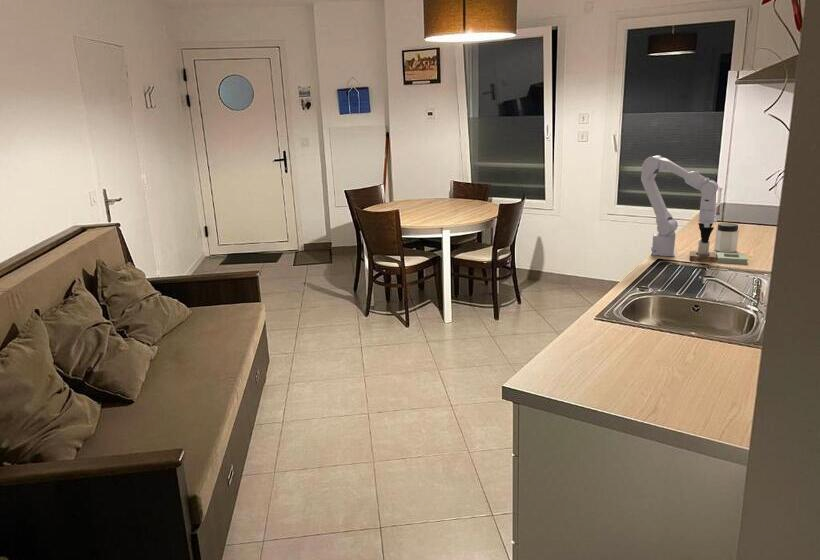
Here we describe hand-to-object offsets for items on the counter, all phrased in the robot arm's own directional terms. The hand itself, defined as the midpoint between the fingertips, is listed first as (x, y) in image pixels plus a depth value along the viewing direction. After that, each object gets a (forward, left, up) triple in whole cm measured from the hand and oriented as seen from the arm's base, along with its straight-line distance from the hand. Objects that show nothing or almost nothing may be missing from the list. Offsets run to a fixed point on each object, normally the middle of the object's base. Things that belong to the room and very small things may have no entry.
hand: (704, 241), depth 261 cm
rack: (+11, 0, -8) cm, 13 cm away
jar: (+10, +19, -8) cm, 23 cm away
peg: (0, 0, -8) cm, 8 cm away
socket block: (0, 0, -8) cm, 8 cm away
